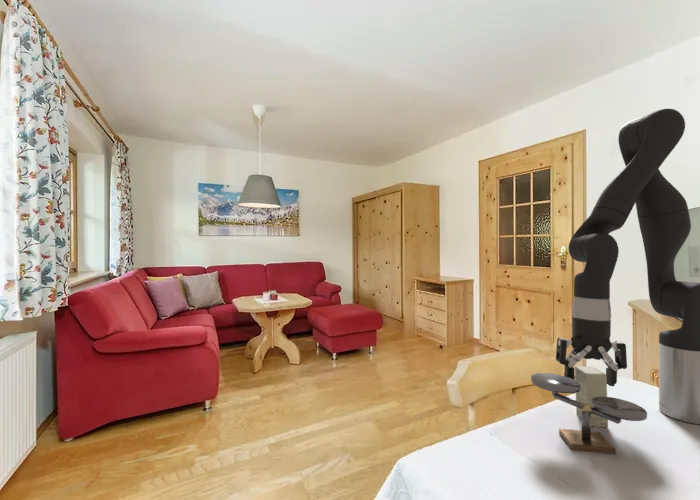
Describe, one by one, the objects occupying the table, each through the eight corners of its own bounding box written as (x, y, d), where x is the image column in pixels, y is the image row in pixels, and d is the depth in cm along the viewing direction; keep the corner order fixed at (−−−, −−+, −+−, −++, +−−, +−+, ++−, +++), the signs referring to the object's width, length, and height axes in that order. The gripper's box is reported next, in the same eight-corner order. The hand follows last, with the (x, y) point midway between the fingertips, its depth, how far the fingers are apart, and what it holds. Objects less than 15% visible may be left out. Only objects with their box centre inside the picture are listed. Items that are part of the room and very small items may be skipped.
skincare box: (608, 428, 76) (608, 375, 76) (587, 426, 77) (586, 374, 77) (594, 414, 83) (594, 366, 83) (574, 413, 83) (574, 365, 83)
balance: (629, 437, 73) (629, 378, 73) (658, 463, 64) (658, 396, 64) (525, 427, 77) (525, 371, 77) (539, 450, 68) (539, 387, 68)
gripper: (615, 314, 82) (614, 380, 82) (552, 311, 85) (551, 375, 85) (635, 321, 75) (633, 392, 75) (565, 317, 77) (564, 386, 77)
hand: (589, 383), depth 80 cm, fingers open, 8 cm apart
